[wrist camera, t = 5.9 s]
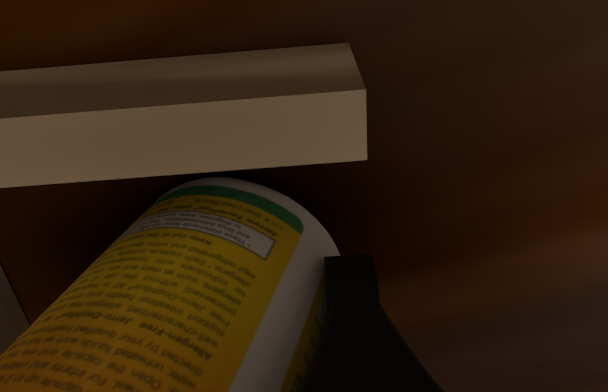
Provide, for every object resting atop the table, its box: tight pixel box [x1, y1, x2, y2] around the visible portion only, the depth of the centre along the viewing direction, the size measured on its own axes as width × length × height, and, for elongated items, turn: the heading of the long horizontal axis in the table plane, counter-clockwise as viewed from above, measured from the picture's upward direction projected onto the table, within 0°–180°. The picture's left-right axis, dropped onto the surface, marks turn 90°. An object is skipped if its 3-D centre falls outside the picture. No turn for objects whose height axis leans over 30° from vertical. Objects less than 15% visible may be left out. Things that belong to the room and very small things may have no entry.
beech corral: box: [0, 43, 367, 355], centre depth 12 cm, size 10×10×3 cm
